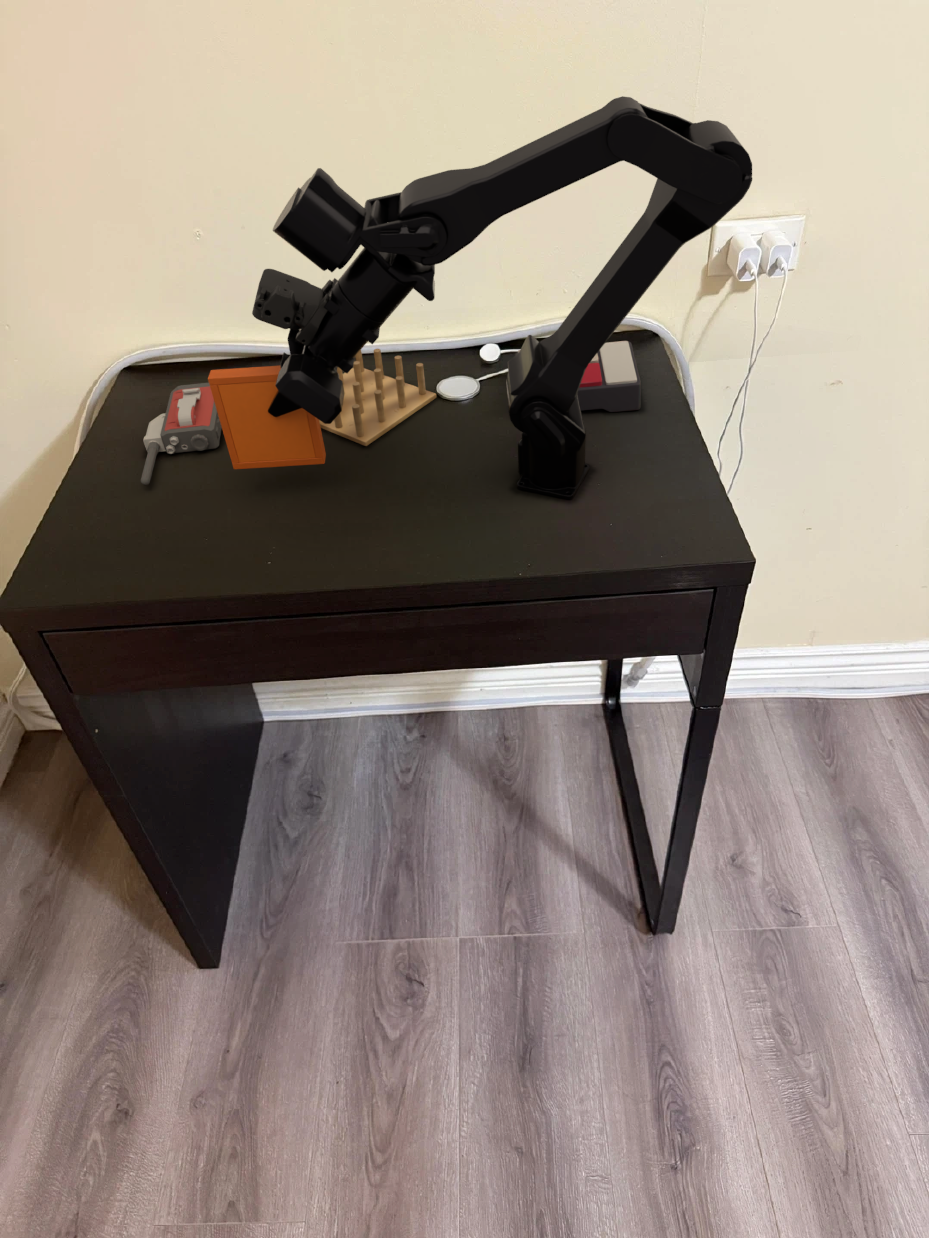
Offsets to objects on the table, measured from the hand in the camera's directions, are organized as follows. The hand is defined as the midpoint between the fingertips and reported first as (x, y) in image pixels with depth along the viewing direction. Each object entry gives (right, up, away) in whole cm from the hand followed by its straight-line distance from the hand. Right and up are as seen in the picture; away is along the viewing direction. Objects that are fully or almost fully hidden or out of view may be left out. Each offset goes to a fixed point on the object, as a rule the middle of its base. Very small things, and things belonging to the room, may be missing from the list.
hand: (272, 408), depth 94 cm
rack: (+7, +5, +21) cm, 23 cm away
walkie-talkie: (-14, 0, +17) cm, 22 cm away
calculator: (+34, +7, +20) cm, 40 cm away
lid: (0, -5, +5) cm, 7 cm away
